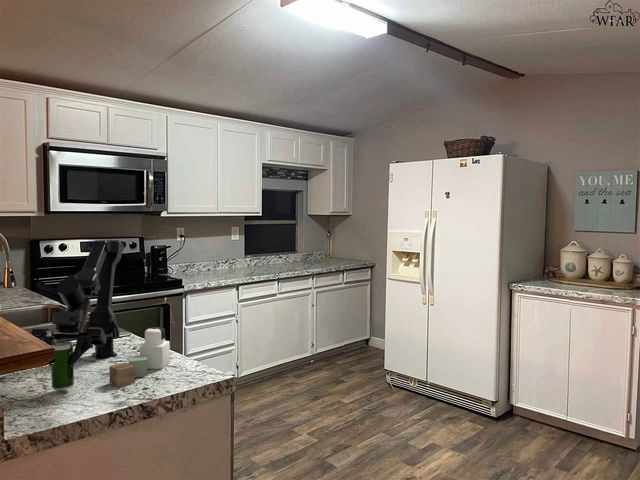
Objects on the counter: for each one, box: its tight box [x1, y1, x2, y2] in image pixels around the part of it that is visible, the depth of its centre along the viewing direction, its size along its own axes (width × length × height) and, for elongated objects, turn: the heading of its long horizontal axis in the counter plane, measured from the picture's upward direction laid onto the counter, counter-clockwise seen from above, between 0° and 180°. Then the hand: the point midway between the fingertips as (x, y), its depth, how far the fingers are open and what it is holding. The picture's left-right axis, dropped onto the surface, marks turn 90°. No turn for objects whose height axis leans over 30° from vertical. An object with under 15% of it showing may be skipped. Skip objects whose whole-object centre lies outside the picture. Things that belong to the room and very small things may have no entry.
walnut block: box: [109, 361, 136, 388], centre depth 142 cm, size 5×5×5 cm
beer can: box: [50, 340, 75, 392], centre depth 135 cm, size 5×5×12 cm
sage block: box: [128, 354, 148, 378], centre depth 150 cm, size 5×5×5 cm
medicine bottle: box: [139, 326, 171, 370], centre depth 158 cm, size 7×7×12 cm
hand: (60, 364), depth 133 cm, fingers closed on beer can, 5 cm apart
